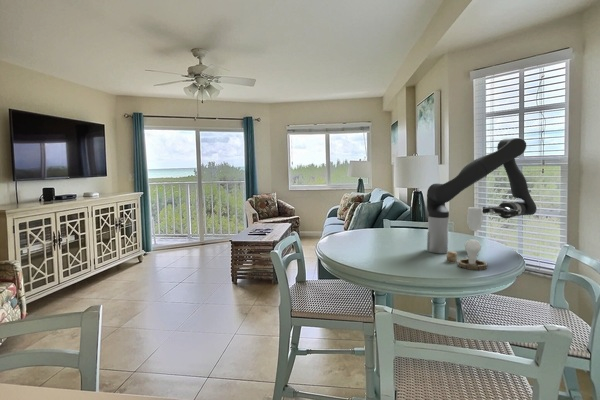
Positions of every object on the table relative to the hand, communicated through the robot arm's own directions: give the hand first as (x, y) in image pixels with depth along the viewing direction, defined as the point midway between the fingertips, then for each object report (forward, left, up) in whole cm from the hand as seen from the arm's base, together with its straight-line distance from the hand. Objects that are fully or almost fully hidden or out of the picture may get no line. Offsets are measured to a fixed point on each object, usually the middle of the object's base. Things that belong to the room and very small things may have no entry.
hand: (493, 212), depth 152 cm
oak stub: (-16, -11, -21) cm, 29 cm away
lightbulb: (-8, -16, -21) cm, 28 cm away
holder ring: (-8, -16, -21) cm, 28 cm away
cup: (-7, +18, -22) cm, 29 cm away
